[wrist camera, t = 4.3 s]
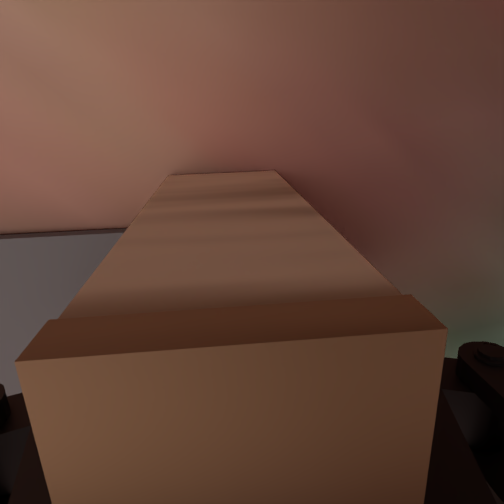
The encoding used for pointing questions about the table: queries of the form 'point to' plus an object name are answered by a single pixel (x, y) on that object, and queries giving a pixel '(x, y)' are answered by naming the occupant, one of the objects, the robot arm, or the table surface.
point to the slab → (234, 361)
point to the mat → (42, 285)
